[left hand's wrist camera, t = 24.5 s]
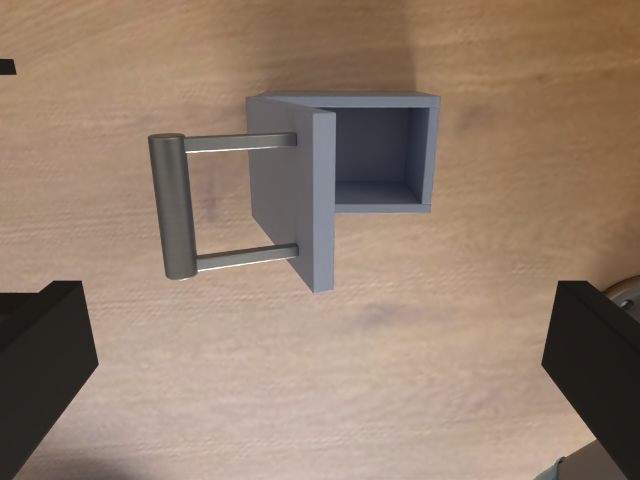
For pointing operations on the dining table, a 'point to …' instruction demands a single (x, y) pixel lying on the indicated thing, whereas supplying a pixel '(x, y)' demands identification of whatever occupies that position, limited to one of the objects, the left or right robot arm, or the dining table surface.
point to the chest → (379, 147)
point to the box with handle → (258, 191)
